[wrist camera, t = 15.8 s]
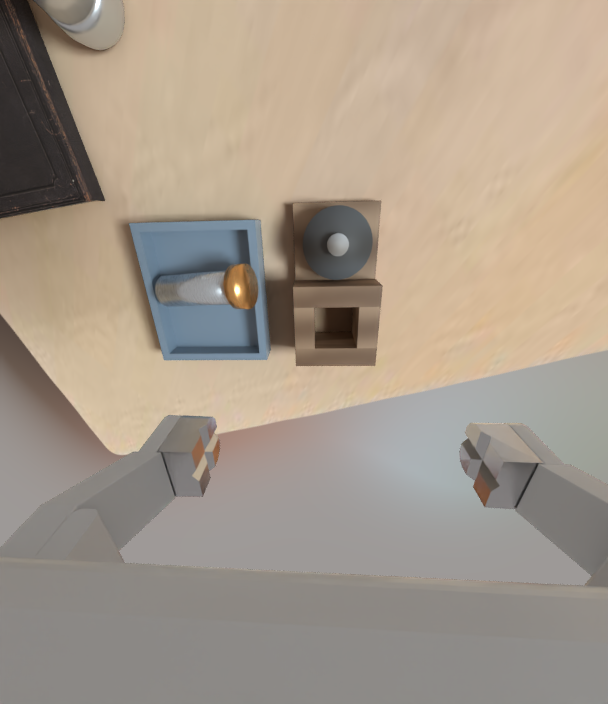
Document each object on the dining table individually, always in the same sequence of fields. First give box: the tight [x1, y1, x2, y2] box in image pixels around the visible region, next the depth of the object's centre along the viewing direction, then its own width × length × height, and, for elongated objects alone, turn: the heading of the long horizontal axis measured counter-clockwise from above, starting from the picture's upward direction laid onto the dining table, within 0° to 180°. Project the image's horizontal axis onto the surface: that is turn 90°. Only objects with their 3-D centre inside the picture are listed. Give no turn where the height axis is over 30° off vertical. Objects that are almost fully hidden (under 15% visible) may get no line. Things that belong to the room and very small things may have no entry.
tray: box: [129, 220, 271, 360], centre depth 38 cm, size 18×15×4 cm
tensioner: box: [293, 201, 382, 366], centre depth 36 cm, size 19×10×6 cm, turn 1°
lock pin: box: [155, 263, 258, 309], centre depth 35 cm, size 5×5×12 cm
